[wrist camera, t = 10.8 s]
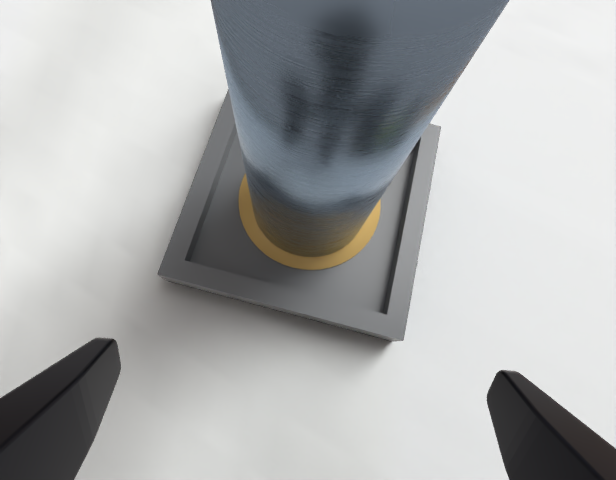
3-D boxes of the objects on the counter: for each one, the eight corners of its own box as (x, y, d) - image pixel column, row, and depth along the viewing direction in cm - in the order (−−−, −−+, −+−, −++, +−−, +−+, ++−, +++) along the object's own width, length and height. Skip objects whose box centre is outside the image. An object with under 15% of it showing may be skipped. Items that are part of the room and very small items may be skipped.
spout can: (371, 254, 18) (835, -237, 3) (253, 259, 17) (82, -296, 2) (360, 150, 19) (626, -524, 4) (251, 151, 19) (140, -589, 4)
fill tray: (392, 341, 18) (403, 340, 16) (167, 280, 18) (157, 274, 16) (429, 142, 21) (440, 126, 19) (238, 92, 21) (235, 72, 19)
